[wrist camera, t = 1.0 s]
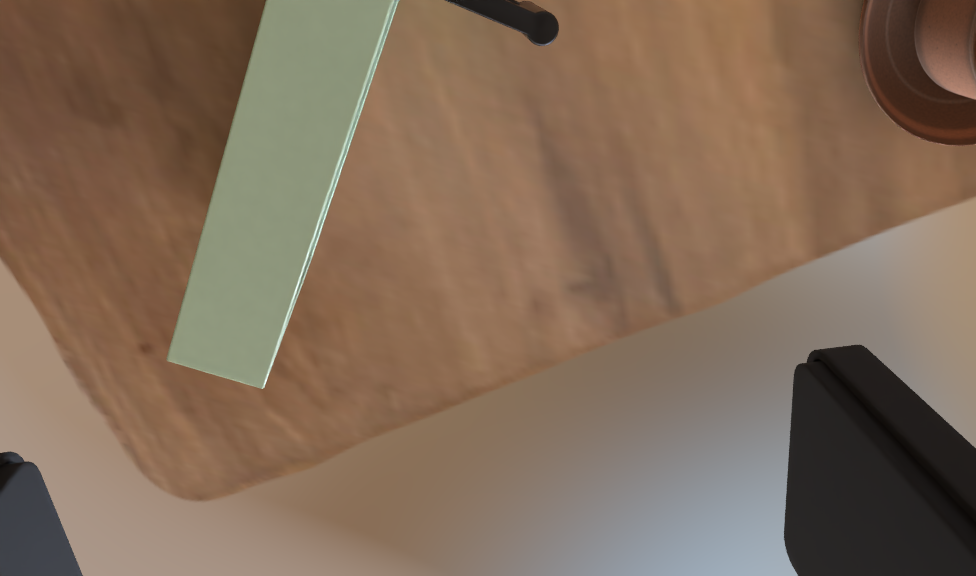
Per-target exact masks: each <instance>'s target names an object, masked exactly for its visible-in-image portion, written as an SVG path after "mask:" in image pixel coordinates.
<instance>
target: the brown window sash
mask: <svg viewBox="0 0 976 576" xmlns="http://www.w3.org/2000/svg"><path fill="white" fill-rule="evenodd" d="M445 1H448V2H450V3H452V4H455V5H457V6H459V7H462V8H464V9H467V10H469V11H471V12H474V13H476V14H479V15H481V16H483V17H486V18H488V19H490V20H493V21H495V22H498V23H500V24H502V25H505V26H507V27H509V28H512V29H514V30H517V31H519V32H521V33H523V34H524V35H525V36H526V37H527V38H528V39H529V40H530V41H531V42H532V43H533V44H535V45H538V46H545V45H548V44H550V43H552V42H553V41H554V40H555V38H556V37H557V35H558V31H559V25H558V21H557V19H556V18H555V16H554V15H553V14H551V13H549V12H548V11H546V10H544V9H542V8H541V7H539V6H537V5H535V4H534V3H532V2H529V1H522V2H517V1H515V0H445Z"/></svg>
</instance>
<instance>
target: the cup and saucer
mask: <svg viewBox="0 0 976 576" xmlns="http://www.w3.org/2000/svg"><path fill="white" fill-rule="evenodd" d="M859 56H860V62H861V68H862V72H863V75H864V79H865V81H866V84H867V86H868V89H869V91H870V93H871V95H872V97H873V98H874V100H875V101H876V103H877V104H878V106H879V107H880V109H881V110H882V111H883V112H884V113H885V114H886V115H887V116H888V118H890V119H891V120H892V121H893V122H894V123H895V124H896V125H897V126H899V127H900V128H902V129H903V130H905V131H906V132H908V133H910V134H912V135H914V136H915V137H917V138H920V139H923V140H926V141H929V142H933V143H937V144H943V145H954V146H963V145H975V144H976V0H864V3H863V8H862V12H861V17H860V25H859Z"/></svg>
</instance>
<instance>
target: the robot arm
mask: <svg viewBox="0 0 976 576" xmlns="http://www.w3.org/2000/svg"><path fill="white" fill-rule="evenodd" d="M789 447H790V448H789V462H788V478H787V494H786V510H785V527H784V540H785V546H786V550H787V554H788V556H789V559H790V562H791V563H792V566H793V567H794V569H795V571H796V572H797V574H798V576H976V448H975V447H974V446H972V445H971V444H970V443H969V442H968V441H967V440H966V439H965V438H964V437H963V436H962V435H960V434H959V433H958V432H957V431H956V430H955V429H954V428H953V427H952V426H951V425H949V423H947V422H946V421H945V420H944V419H943V418H942V417H941V416H940V415H939V414H937V412H935V411H934V410H933V409H932V408H931V407H930V406H929V405H928V404H927V403H926V402H925V401H924V400H922V399H921V398H920V397H919V396H918V395H917V394H916V393H915V392H914V391H913V390H912V389H910V388H909V387H908V386H907V385H906V384H905V383H904V382H903V381H902V380H901V379H900V378H898V377H897V376H896V375H895V374H894V373H893V372H892V371H891V370H890V369H889V368H888V367H887V366H885V365H884V364H883V363H882V362H881V361H880V360H879V359H878V358H877V357H876V356H874V355H873V354H872V353H871V352H870V351H869V350H868V349H867V348H865V347H864V346H862V345H851V346H843V347H836V348H827V349H820V350H814V351H812V352H811V353H810V354H809V357H808V359H807V363H802V364H799V365H797V367H796V369H795V373H794V384H793V399H792V414H791V431H790V446H789ZM0 576H83V575H82V573H81V570H80V568H79V566H78V563H77V561H76V558H75V556H74V553H73V551H72V548H71V546H70V544H69V541H68V539H67V536H66V534H65V531H64V529H63V527H62V524H61V522H60V519H59V517H58V514H57V512H56V509H55V507H54V505H53V502H52V500H51V498H50V495H49V492H48V490H47V488H46V485H45V483H44V480H43V478H42V475H41V473H40V471H39V469H38V468H37V466H36V465H35V464H34V463H32V462H24V460H23V458H22V457H20V456H19V455H18V454H17V453H14V452H4V453H0Z"/></svg>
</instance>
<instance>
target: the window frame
mask: <svg viewBox="0 0 976 576" xmlns="http://www.w3.org/2000/svg"><path fill="white" fill-rule="evenodd" d="M398 2H399V0H266V2H265V6H264V10H263V13H262V17H261V20H260V24H259V28H258V31H257V35H256V39H255V42H254V46H253V49H252V53H251V57H250V60H249V64H248V67H247V71H246V75H245V78H244V82H243V85H242V89H241V93H240V96H239V100H238V103H237V107H236V111H235V114H234V118H233V121H232V125H231V129H230V132H229V136H228V139H227V143H226V147H225V150H224V154H223V157H222V161H221V165H220V168H219V172H218V175H217V179H216V183H215V186H214V190H213V193H212V197H211V201H210V204H209V208H208V211H207V215H206V219H205V222H204V226H203V229H202V233H201V237H200V240H199V244H198V247H197V251H196V255H195V258H194V262H193V265H192V269H191V273H190V276H189V280H188V283H187V287H186V291H185V294H184V298H183V301H182V305H181V309H180V312H179V316H178V319H177V323H176V327H175V330H174V334H173V337H172V341H171V345H170V348H169V352H168V355H167V361H170V362H173V363H177V364H180V365H183V366H187V367H190V368H194V369H197V370H200V371H204V372H207V373H210V374H214V375H217V376H221V377H224V378H227V379H231V380H234V381H238V382H241V383H244V384H248V385H251V386H255V387H258V388H261V389H263V388H264V386H265V383H266V381H267V378H268V375H269V373H270V370H271V367H272V365H273V362H274V359H275V357H276V354H277V351H278V349H279V346H280V343H281V341H282V338H283V335H284V333H285V330H286V327H287V324H288V322H289V319H290V316H291V314H292V311H293V308H294V306H295V303H296V300H297V298H298V295H299V292H300V290H301V287H302V284H303V282H304V279H305V276H306V273H307V271H308V268H309V265H310V262H311V259H312V256H313V253H314V250H315V247H316V244H317V242H318V239H319V236H320V233H321V230H322V227H323V224H324V221H325V218H326V215H327V212H328V209H329V206H330V203H331V200H332V197H333V194H334V191H335V188H336V185H337V182H338V179H339V176H340V173H341V170H342V167H343V164H344V162H345V159H346V156H347V153H348V150H349V147H350V144H351V141H352V138H353V135H354V132H355V129H356V126H357V123H358V120H359V117H360V114H361V111H362V108H363V105H364V102H365V99H366V96H367V93H368V90H369V87H370V84H371V82H372V79H373V76H374V73H375V70H376V67H377V64H378V61H379V58H380V55H381V52H382V49H383V46H384V43H385V40H386V37H387V34H388V31H389V28H390V25H391V22H392V19H393V16H394V13H395V10H396V7H397V4H398Z"/></svg>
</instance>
